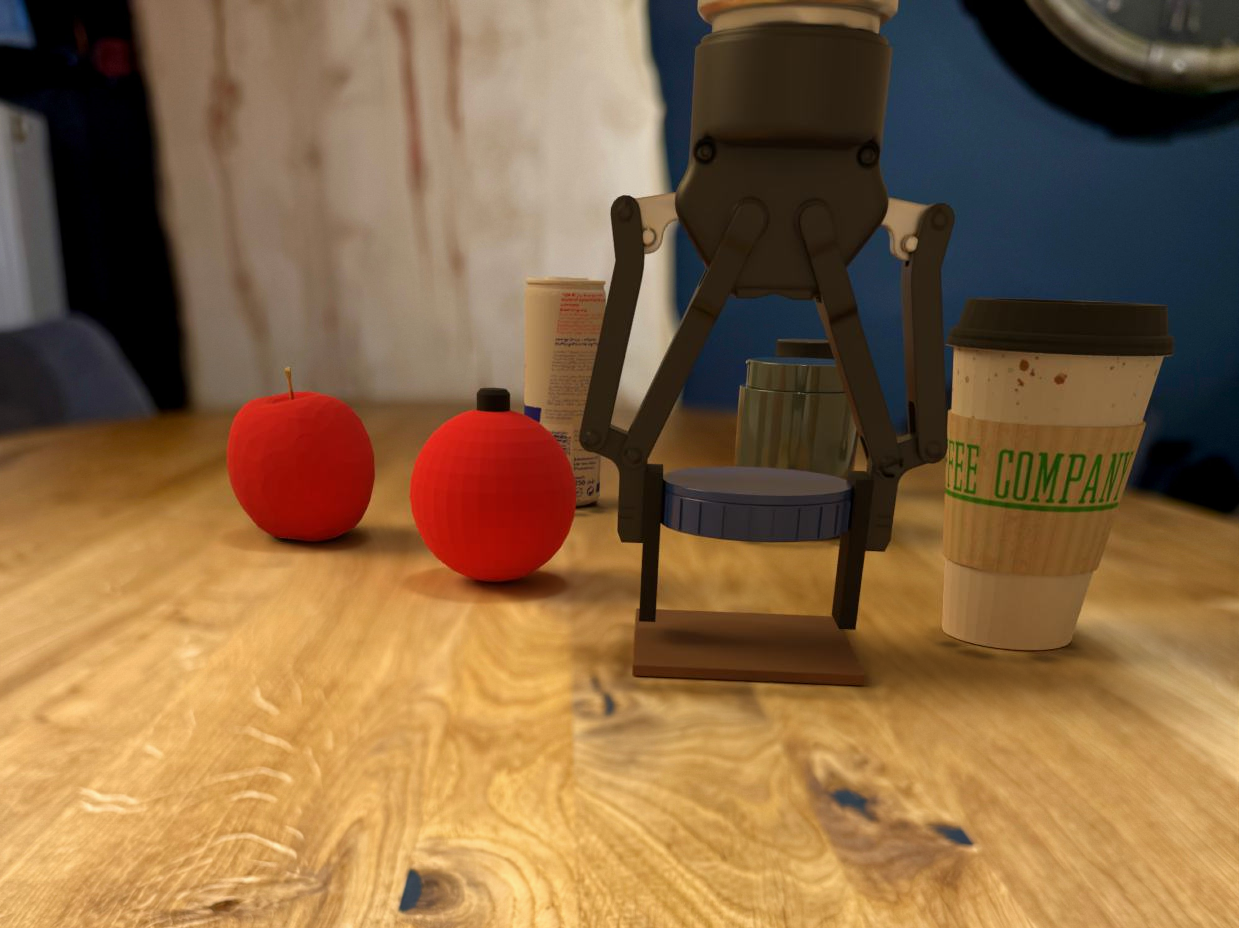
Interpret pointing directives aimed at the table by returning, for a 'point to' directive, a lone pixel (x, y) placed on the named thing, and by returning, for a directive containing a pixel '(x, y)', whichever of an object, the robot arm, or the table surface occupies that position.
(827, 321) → the robot arm
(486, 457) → the ornament
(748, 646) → the coaster
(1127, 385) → the coffee cup
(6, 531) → the table surface
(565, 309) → the beverage can
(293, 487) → the fruit
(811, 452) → the jar
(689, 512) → the lid
